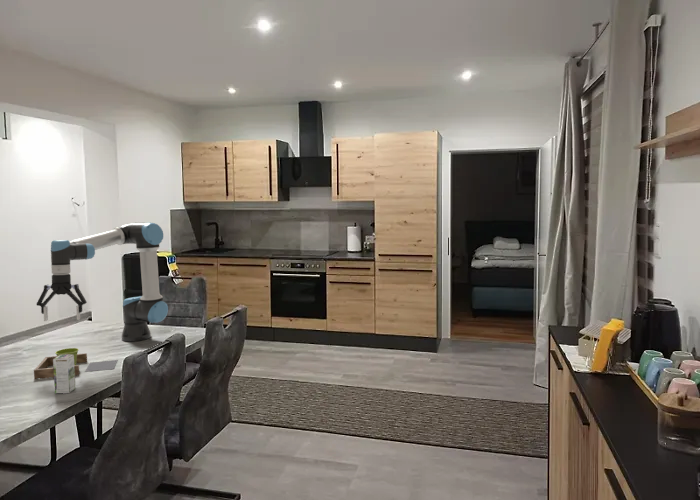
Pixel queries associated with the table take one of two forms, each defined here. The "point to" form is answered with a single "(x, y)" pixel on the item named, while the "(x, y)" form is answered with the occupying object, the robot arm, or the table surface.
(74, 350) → the plant pot
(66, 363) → the syrup box
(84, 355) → the walnut bay
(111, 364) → the charcoal mat
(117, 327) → the table surface
